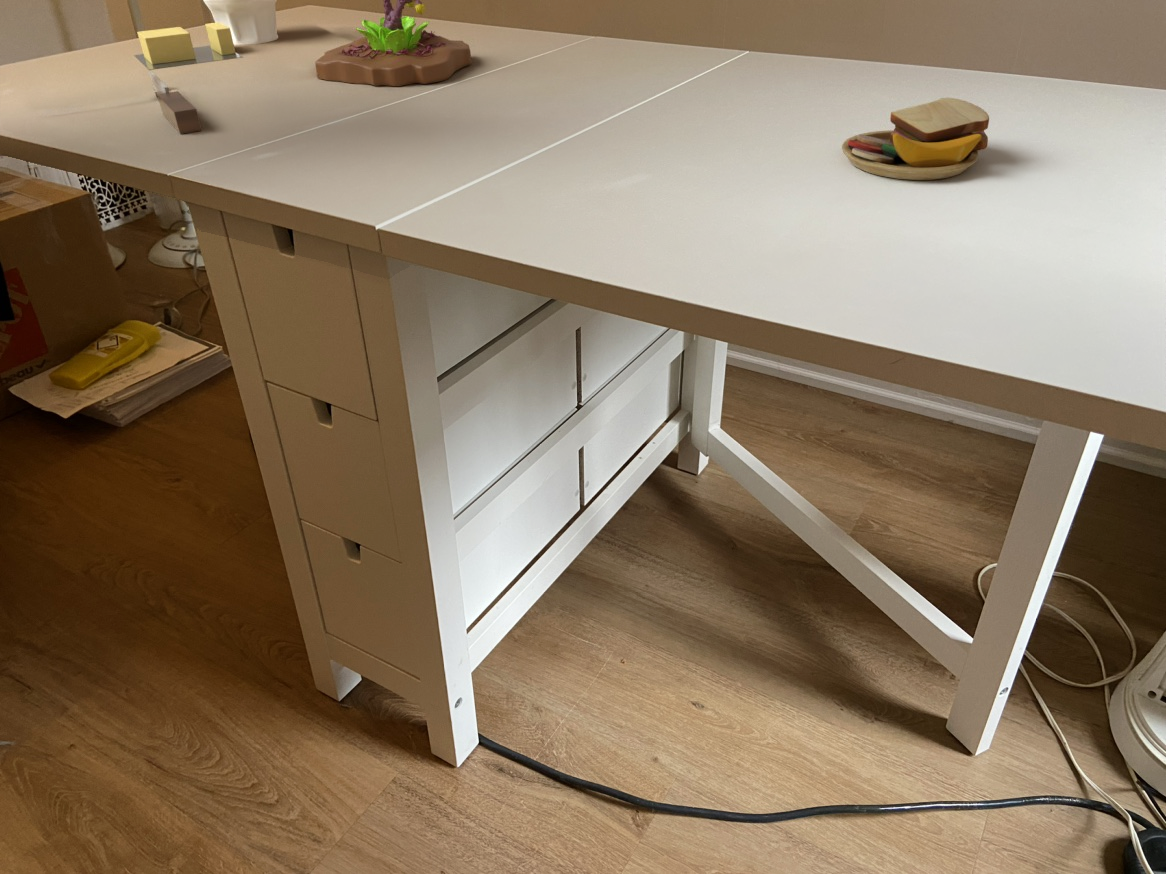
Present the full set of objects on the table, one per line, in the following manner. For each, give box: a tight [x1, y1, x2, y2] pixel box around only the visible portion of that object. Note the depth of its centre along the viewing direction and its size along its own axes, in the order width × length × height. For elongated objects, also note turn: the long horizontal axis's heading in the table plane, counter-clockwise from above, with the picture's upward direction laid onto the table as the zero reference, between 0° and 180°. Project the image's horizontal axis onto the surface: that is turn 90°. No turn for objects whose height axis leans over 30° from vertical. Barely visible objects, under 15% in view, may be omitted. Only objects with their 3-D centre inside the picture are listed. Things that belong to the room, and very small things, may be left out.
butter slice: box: [205, 22, 237, 55], centre depth 130 cm, size 2×6×4 cm, turn 34°
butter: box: [137, 26, 196, 65], centre depth 126 cm, size 6×6×4 cm
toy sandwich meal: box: [841, 97, 990, 181], centre depth 83 cm, size 12×14×5 cm
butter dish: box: [133, 45, 243, 71], centre depth 129 cm, size 13×12×1 cm
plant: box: [315, 0, 472, 87], centre depth 119 cm, size 20×20×11 cm
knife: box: [148, 71, 203, 135], centre depth 105 cm, size 20×2×3 cm, turn 32°
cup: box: [202, 0, 279, 46], centre depth 135 cm, size 12×12×11 cm
